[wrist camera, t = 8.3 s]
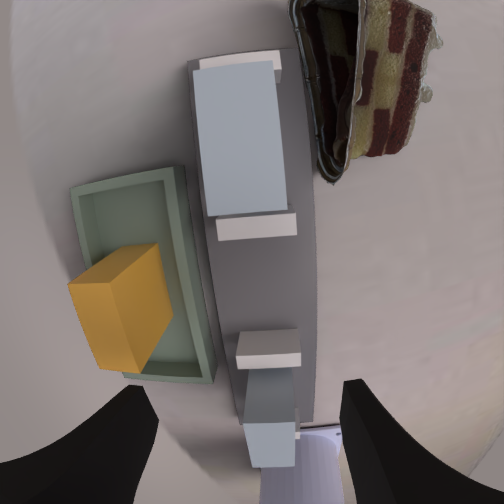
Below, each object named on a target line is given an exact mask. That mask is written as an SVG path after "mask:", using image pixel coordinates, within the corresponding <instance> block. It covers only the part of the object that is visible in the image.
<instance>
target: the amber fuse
mask: <svg viewBox="0 0 504 504" xmlns="http://www.w3.org/2000/svg"><path fill="white" fill-rule="evenodd" d="M67 285H68V288H69V291H70V294H71V297H72V300H73V303H74V306H75V309H76V312H77V315H78V318H79V320H80V323H81V326H82V328H83V331H84V333H85V336H86V338H87V340H88V343H89V346H90V348H91V350H92V353H93V355H94V357H95V359H96V362H97V364H98V366H99V368H100V369H105V370H113V371H120V372H129V373H139V374H140V373H141V371H142V370H143V368H144V366H145V364H146V363H147V361H148V359H149V357H150V356H151V354H152V352H153V350H154V349H155V347H156V345H157V343H158V342H159V340H160V338H161V336H162V335H163V333H164V331H165V329H166V328H167V326H168V324H169V323H170V321H171V319H172V317H173V316H174V315H173V310H172V306H171V302H170V298H169V293H168V289H167V285H166V280H165V275H164V271H163V266H162V261H161V256H160V251H159V245H158V243H151V244H141V245H130V246H122V247H120V248H119V249H117V250H116V251H114V252H113V253H111V254H110V255H108V256H107V257H105V258H104V259H102V260H101V261H99V262H98V263H96V264H95V265H94V266H92V267H91V268H89V269H88V270H86V271H85V272H84V273H82V274H81V275H79V276H78V277H76V278H75V279H74V280H72V281H71V282H69V283H68V284H67Z"/></svg>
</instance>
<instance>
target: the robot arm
mask: <svg viewBox="0 0 504 504" xmlns="http://www.w3.org/2000/svg"><path fill="white" fill-rule="evenodd" d="M339 418H340V425H336V426H328V427H319V428H309V429H300V439H295V466H291V467H260V468H261V485H260V500H259V504H344V496H343V489H342V482H341V475H340V468H339V462H338V455H339V451H340V447H341V442H342V440H343V445H344V449H345V453H346V457H347V461H348V465H349V469H350V473H351V477H352V481H353V485H354V489H355V494H356V500H357V504H504V492H502V491H499V490H496V489H493V488H490V487H488V486H485V485H483V484H481V483H478V482H476V481H474V480H472V479H470V478H468V477H466V476H465V475H463V474H461V473H460V472H458V471H456V470H455V469H453V468H451V467H450V466H448V465H446V464H445V463H444V462H442V461H441V460H439V459H438V458H437V457H435V456H434V455H433V454H431V453H430V452H429V451H428V450H426V449H425V448H424V447H423V446H422V445H420V444H419V443H418V442H417V441H416V440H415V439H414V438H413V437H412V436H411V435H410V434H409V433H408V432H406V431H405V430H404V429H403V427H402V426H401V425H400V424H399V423H398V422H397V421H396V420H395V419H394V418H393V417H392V416H391V414H390V413H389V412H388V411H387V410H386V409H385V408H384V406H383V405H382V404H381V403H380V401H379V400H378V399H377V398H376V396H375V395H374V394H373V393H372V391H371V390H370V389H369V387H368V386H367V385H366V383H365V382H364V380H362V379H355V380H349V381H344V384H343V393H342V402H341V410H340V417H339ZM158 423H159V419H158V417H157V415H156V413H155V411H154V409H153V407H152V405H151V403H150V401H149V399H148V397H147V395H146V393H145V390H144V388H143V386H137V385H128V386H127V387H125V388H124V389H123V390H122V391H120V392H119V393H118V394H117V395H116V396H115V397H113V398H112V399H111V400H110V401H109V402H108V403H106V404H105V405H104V406H103V407H102V408H101V409H99V410H98V411H97V412H96V413H95V414H93V415H92V416H91V417H90V418H89V419H87V420H86V421H85V422H83V423H82V424H81V425H79V426H78V427H77V428H75V429H74V430H73V431H71V432H70V433H68V434H67V435H65V436H64V437H62V438H61V439H59V440H57V441H56V442H54V443H52V444H50V445H48V446H46V447H44V448H42V449H40V450H38V451H36V452H33V453H31V454H29V455H26V456H23V457H21V458H17V459H14V460H11V461H7V462H3V463H0V504H133V502H134V497H135V493H136V490H137V486H138V483H139V481H140V478H141V475H142V473H143V470H144V468H145V465H146V463H147V460H148V457H149V455H150V452H151V450H152V447H153V444H154V440H155V436H156V432H157V428H158Z"/></svg>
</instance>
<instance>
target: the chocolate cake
mask: <svg viewBox="0 0 504 504" xmlns="http://www.w3.org/2000/svg"><path fill="white" fill-rule="evenodd" d="M288 5H289V7H288V9H289V10H288V11H287V12H288V16H289V18H290V21H291V24H292V27H293V31H294V33H295V35H296V39H297V43H298V47H299V52H300V56H301V59H302V63H303V68H304V77H305V82H306V86H307V89H308V91H309V96H310V99H311V107H312V114H313V119H314V127H315V136H316V142H317V147H318V159H317V168H318V171H319V173H320V174H321V177H322V178H323V179H324V180H326V181H327V183H330V184H332V185H334V184H335V183H336V182H337V181H338V180H339V179H340V178H341V176H342V174H343V173H344V171H346V170H347V169H348V166H349V162H350V159H356V158H358V157H359V156H360V155H365V156H368V157H374V156H382V155H384V154H396V153H397V152H399V151H400V150H401V149H402V148H403V147H404V146H406V145H407V144H408V142H409V139H410V137H411V134H412V132H413V129H414V126H415V123H416V114H417V110H418V108H419V104H420V102H424V103H427V102H430V101H431V98H432V94H433V91H432V88H431V87H430V86H428V85H427V84H425V83H424V78H425V76H426V75H427V65H428V63H427V60H428V56H429V54H430V52H431V51H432V50H434V49H436V48H437V49H440V48H442V46H443V40H442V38H441V37H440V36H439V35H438V34H437V32H436V24H437V19H436V16H435V15H434V14H433V13H432V12H431V11H429V10H426V9H424V8H422V7H420V6H418V5H416V4H414V3H412V2H410V1H408V0H289V1H288Z"/></svg>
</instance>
